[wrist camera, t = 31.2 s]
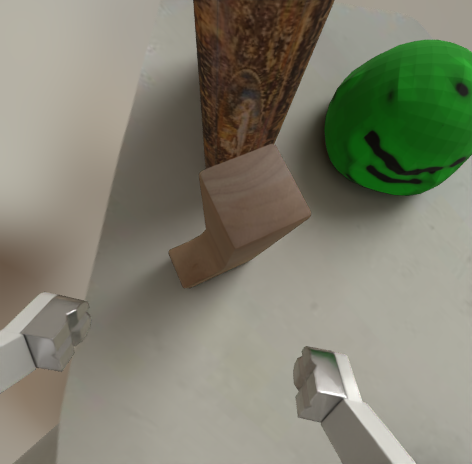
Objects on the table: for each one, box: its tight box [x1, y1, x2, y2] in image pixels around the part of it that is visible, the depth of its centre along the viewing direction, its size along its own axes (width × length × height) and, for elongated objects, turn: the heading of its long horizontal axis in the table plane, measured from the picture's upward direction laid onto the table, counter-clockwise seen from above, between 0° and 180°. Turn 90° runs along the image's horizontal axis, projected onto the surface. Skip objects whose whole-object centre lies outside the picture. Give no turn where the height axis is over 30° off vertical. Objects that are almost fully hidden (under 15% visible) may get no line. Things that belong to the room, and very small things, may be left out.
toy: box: [324, 40, 472, 196], centre depth 23 cm, size 14×13×10 cm
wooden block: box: [169, 144, 311, 288], centre depth 16 cm, size 7×3×15 cm, turn 115°
